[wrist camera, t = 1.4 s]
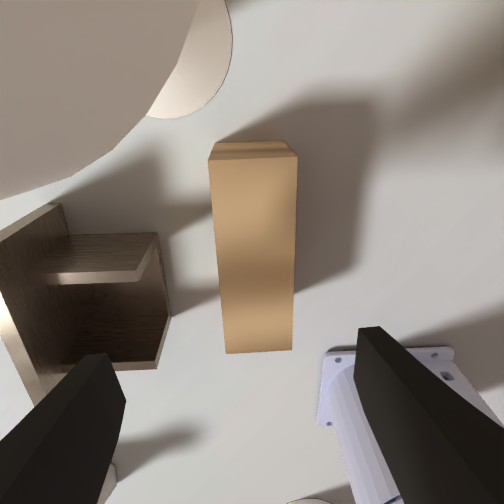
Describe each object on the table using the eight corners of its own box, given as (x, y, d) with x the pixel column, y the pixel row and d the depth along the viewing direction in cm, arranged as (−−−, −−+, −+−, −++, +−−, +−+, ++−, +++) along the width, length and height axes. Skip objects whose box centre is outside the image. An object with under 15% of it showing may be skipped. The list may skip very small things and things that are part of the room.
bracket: (152, 200, 18) (115, 248, 12) (174, 339, 22) (155, 419, 17) (45, 204, 18) (-39, 253, 12) (90, 343, 22) (43, 424, 17)
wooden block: (214, 142, 17) (207, 160, 12) (281, 139, 17) (297, 156, 12) (227, 300, 21) (225, 353, 17) (280, 297, 21) (291, 349, 17)
